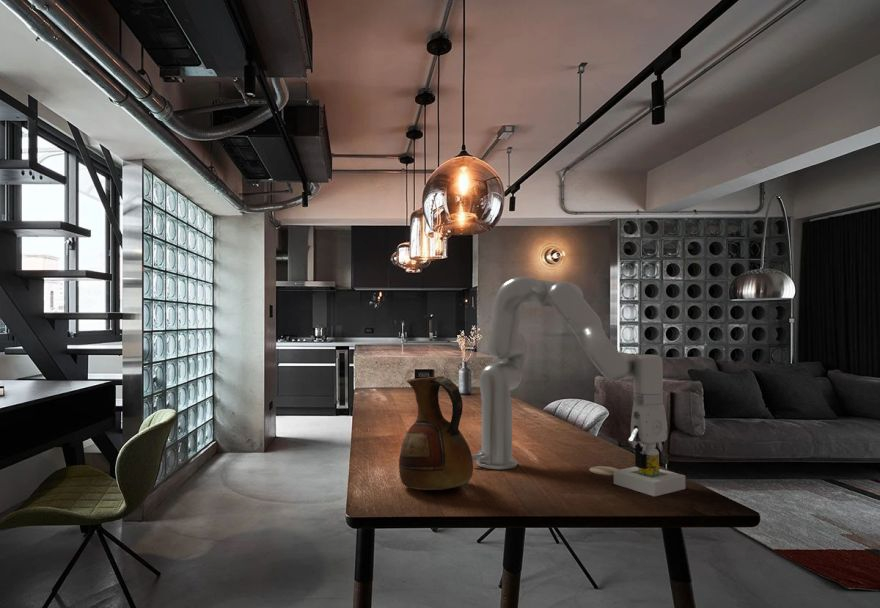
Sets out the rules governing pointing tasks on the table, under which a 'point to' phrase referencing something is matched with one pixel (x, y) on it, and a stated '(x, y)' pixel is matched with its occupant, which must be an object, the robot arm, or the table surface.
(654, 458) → the supplement bottle
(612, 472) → the cork coaster
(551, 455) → the table surface
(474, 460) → the robot arm
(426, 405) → the ceramic pitcher
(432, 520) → the table surface
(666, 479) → the socket block
